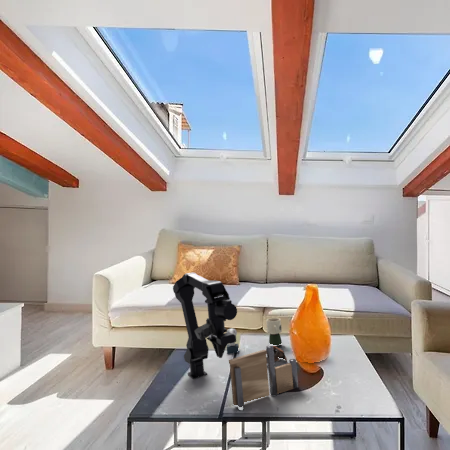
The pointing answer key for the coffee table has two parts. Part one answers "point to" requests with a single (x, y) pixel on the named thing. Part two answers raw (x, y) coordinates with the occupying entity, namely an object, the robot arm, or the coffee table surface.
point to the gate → (251, 376)
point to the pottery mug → (278, 354)
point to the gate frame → (272, 377)
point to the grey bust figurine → (232, 346)
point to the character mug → (274, 330)
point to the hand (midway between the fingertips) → (219, 357)
